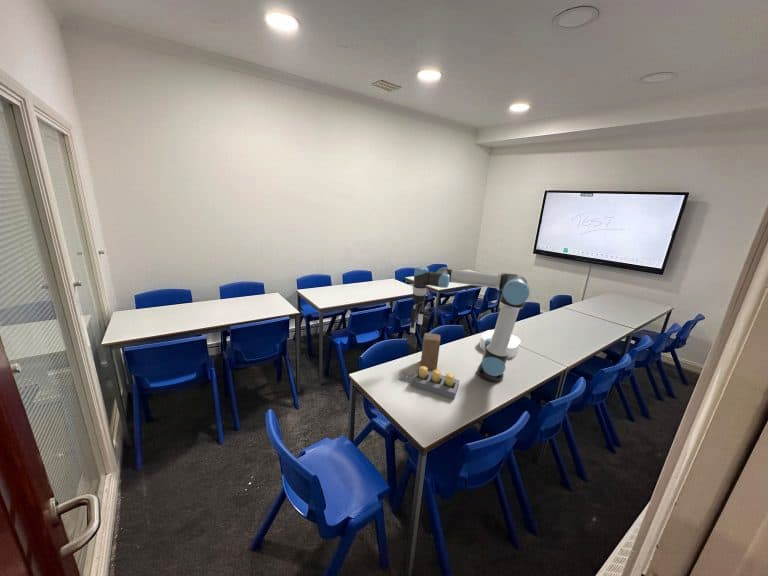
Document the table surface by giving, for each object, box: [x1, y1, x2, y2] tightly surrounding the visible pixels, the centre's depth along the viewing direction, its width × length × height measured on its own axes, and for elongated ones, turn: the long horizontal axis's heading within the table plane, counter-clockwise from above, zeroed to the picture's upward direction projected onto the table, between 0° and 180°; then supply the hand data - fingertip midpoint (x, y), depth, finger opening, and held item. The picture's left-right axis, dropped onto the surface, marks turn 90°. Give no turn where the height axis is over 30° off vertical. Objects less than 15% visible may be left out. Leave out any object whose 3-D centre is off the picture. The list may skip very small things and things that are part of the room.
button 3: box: [418, 366, 429, 378], centre depth 167 cm, size 5×5×5 cm
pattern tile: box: [399, 372, 415, 384], centre depth 173 cm, size 7×7×1 cm
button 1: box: [445, 373, 456, 386], centre depth 162 cm, size 5×5×5 cm
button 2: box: [431, 369, 442, 382], centre depth 165 cm, size 5×5×5 cm
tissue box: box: [479, 329, 522, 359], centre depth 214 cm, size 25×25×16 cm
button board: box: [410, 368, 460, 400], centre depth 166 cm, size 24×13×4 cm, turn 66°
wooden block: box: [419, 332, 441, 371], centre depth 184 cm, size 10×10×20 cm
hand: (416, 328), depth 176 cm, fingers open, 13 cm apart
